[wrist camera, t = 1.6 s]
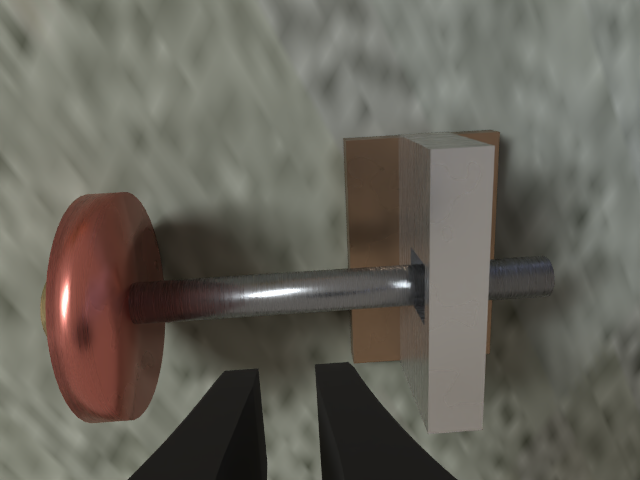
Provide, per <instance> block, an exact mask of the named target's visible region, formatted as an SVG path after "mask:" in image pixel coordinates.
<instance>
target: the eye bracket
mask: <svg viewBox="0 0 640 480" xmlns="http://www.w3.org/2000/svg"><path fill="white" fill-rule="evenodd" d="M499 137H500V132H498V131H493V130H482V131H464V132H436V133H418V134H401V135H394V136H376V137H359V138H343V142H344V168H345V194H346V221H347V247H348V269H349V268H365V267H380V266H395V265H411V264H424V265H425V305H413V306H399V307H384V308H369V309H355V310H350V326H351V352H352V357H353V362H354V363H366V362H380V361H394V360H400V363H401V366H402V368H403V371H404V373H405V376H406V378H407V381H408V384H409V386H410V389H411V391H412V394H413V396H414V399H415V402H416V404H417V407H418V409H419V412H420V414H421V417H422V419H423V422H424V425H425V427H426V430H427V432H428V434H434V433H447V432H460V431H473V430H483V408H484V385H485V362H486V354H490V334H491V312H492V300H488V292H489V269H490V259H494V246H495V224H496V202H497V180H498V159H499Z"/></svg>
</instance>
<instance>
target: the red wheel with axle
mask: <svg viewBox="0 0 640 480" xmlns="http://www.w3.org/2000/svg"><path fill="white" fill-rule="evenodd" d="M553 288H554V271H553V267H552V265H551V262H550V261H549V259H548V258H547V257H545V256H533V257H518V258H502V259H490V269H489V292H488V300H502V299H516V298H531V297H546V296H550V295H551V293H552V291H553ZM413 305H425V265H424V264H411V265H395V266H380V267H365V268H349V269H334V270H319V271H304V272H288V273H273V274H258V275H242V276H227V277H212V278H196V279H181V280H166V281H164V280H163V271H162V264H161V258H160V253H159V248H158V244H157V240H156V236H155V233H154V229H153V226H152V224H151V221H150V218H149V216H148V214H147V212H146V210H145V208H144V207H143V205H142V203H141V202H140V201H139V200H138V199H137V198H136V197H135V196H134V195H133V194H130V193H128V192H120V193H103V194H86V195H83V196H80V197H79V198H77V199H76V200H75V201H74V202H73V203H72V204H71V205H70V206H69V207H68V209H67V210H66V212H65V214H64V215H63V217H62V219H61V221H60V224H59V226H58V228H57V231H56V234H55V237H54V240H53V245H52V249H51V253H50V258H49V265H48V271H47V282H46V283H45V286H44V288H43V292H42V297H41V309H40V310H41V321H42V325H43V329H44V332H45V334H46V336H47V338H48V346H49V352H50V357H51V363H52V366H53V370H54V374H55V378H56V380H57V383H58V386H59V389H60V391H61V393H62V395H63V397H64V399H65V402H66V403H67V405H68V406H69V408H70V409H71V411H72V412H73V413H74V414H75V415H76V416H77V417H78V418H80V419H81V420H83V421H84V422H88V423H100V422H114V421H127V420H135V419H137V418H139V417H140V416H141V415H142V414H143V413H144V411H145V410H146V409H147V407H148V405H149V403H150V401H151V399H152V397H153V394H154V392H155V389H156V385H157V382H158V378H159V373H160V368H161V363H162V356H163V348H164V337H165V322H178V321H193V320H207V319H222V318H237V317H252V316H266V315H281V314H296V313H310V312H325V311H340V310H355V309H369V308H384V307H399V306H413Z"/></svg>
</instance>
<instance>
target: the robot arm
mask: <svg viewBox="0 0 640 480" xmlns="http://www.w3.org/2000/svg"><path fill="white" fill-rule="evenodd" d="M315 372H316V388H317V405H318V421H319V438H320V454H321V469H322V480H457V479H456V478H455V477H453V476H452V475H451V474H450V473H449V472H448V471H447V470H445V469H444V468H443V467H442V466H441V465H440V464H439V463H438V462H437V461H435V460H434V459H433V458H432V457H431V456H430V455H429V454H428V453H427V452H426V451H425V450H424V449H423V448H422V447H421V446H420V445H419V444H418V443H417V442H416V441H415V440H414V439H413V438H412V437H411V436H410V435H409V434H408V433H407V432H406V431H405V430H404V429H403V428H402V427H401V426H400V425H399V424H398V422H397V421H396V420H395V419H394V418H393V417H392V416H391V415H390V413H389V412H388V411H387V410H386V409H385V408H384V407H383V405H382V404H381V403H380V402H379V401H378V399H377V398H376V397H375V396H374V394H373V393H372V392H371V391H370V389H369V388H368V387H367V385H366V384H365V383H364V381H363V380H362V378H361V377H360V376H359V374H358V373H357V371H356V369H355V368H354V367H353V366H352V365H351V364H350V363H349V362H344V363H330V364H316V365H315ZM128 480H267V455H266V444H265V434H264V424H263V413H262V403H261V392H260V382H259V371H258V369H246V370H232V371H224V373H223V374H222V375H221V376H220V377H219V378H218V379H217V380H216V382H215V383H214V384H213V385H212V387H211V388H210V389H209V390H208V392H207V393H206V394H205V395H204V396H203V398H202V399H201V400H200V401H199V403H198V404H197V405H196V406H195V407H194V409H193V410H192V411H191V412H190V413H189V415H188V416H187V417H186V418H185V419H184V420H183V421H182V423H181V424H180V425H179V426H178V427H177V428H176V429H175V431H174V432H173V433H172V434H171V435H170V436H169V437H168V439H167V440H166V441H165V442H164V443H163V444H162V445H161V446H160V447H159V448H158V449H157V450H156V451H155V452H154V453H153V454H152V455H151V457H150V458H149V459H148V460H147V461H146V462H145V463H144V464H143V465H142V466H141V467H140V468H139V469H138V470H137V471H136V472H135V473H134V474H133V475H132V476H131V477H130V478H129V479H128Z"/></svg>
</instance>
